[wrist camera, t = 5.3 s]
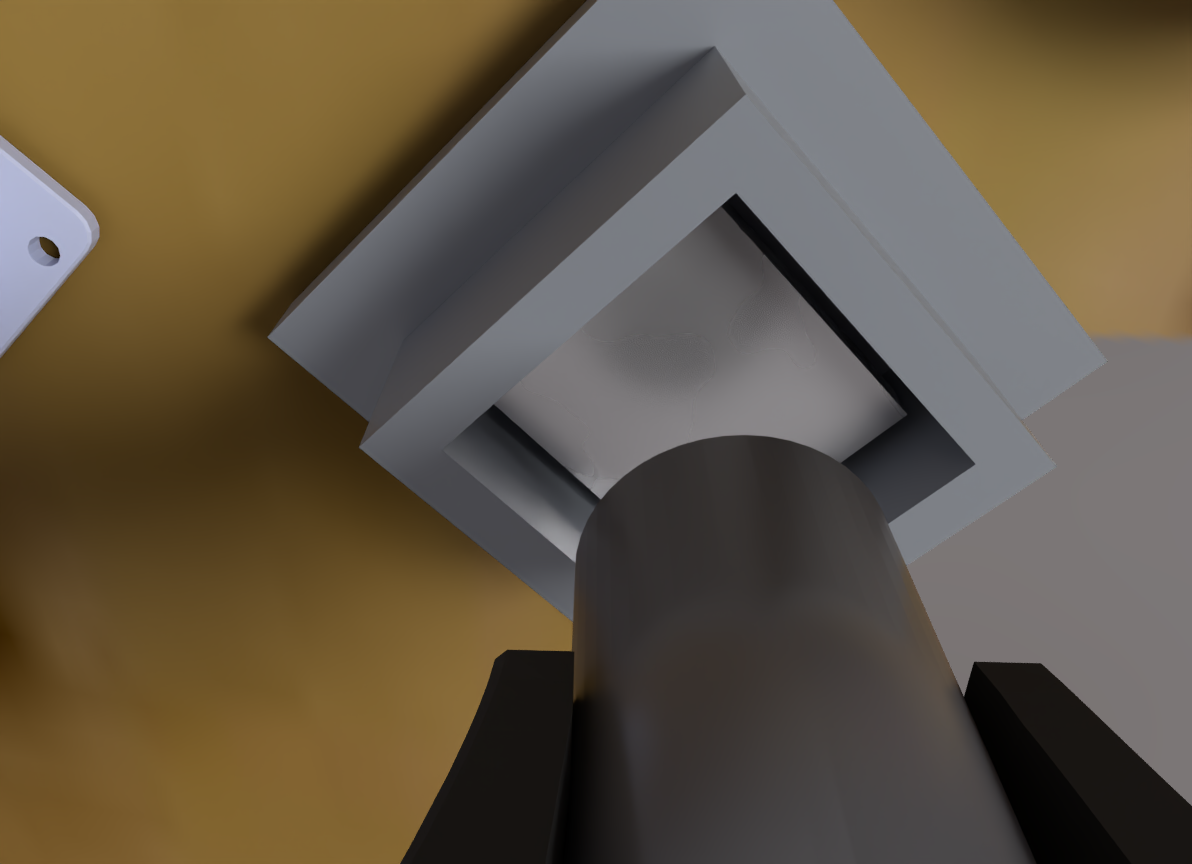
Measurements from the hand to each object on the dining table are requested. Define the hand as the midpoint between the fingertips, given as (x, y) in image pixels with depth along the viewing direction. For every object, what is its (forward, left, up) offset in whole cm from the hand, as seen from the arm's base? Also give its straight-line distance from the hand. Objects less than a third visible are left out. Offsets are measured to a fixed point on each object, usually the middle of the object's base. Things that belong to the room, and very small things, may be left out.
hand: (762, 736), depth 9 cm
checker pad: (0, 0, -7) cm, 7 cm away
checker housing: (0, 0, -10) cm, 10 cm away
